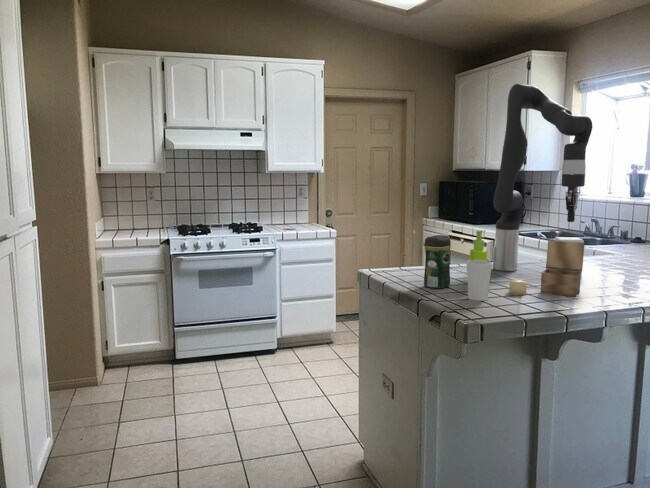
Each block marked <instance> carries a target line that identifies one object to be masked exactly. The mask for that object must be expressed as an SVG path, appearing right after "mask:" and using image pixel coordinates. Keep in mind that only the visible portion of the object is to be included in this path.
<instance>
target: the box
mask: <svg viewBox="0 0 650 488" xmlns="http://www.w3.org/2000/svg"><path fill="white" fill-rule="evenodd" d="M540 277H541V278H540V293H541V294H547V295H555V296H564V297H565V296H566V297H574V298H575V297H577V296H578V295H579V293H580V291H581V278H582V277H581V272H579V271H568V270H556V269H547V268H545V270H542V271H541V275H540Z"/></svg>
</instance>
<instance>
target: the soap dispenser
mask: <svg viewBox="0 0 650 488" xmlns="http://www.w3.org/2000/svg"><path fill="white" fill-rule="evenodd" d="M475 233H476V239H474V240H473V248H471V249H469V260H484V261H488V250H487V249H485V248H484V247H485V240H483V239H482V236H483V235H482V234H483V233H484V232H483V230H476V232H475Z"/></svg>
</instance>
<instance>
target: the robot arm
mask: <svg viewBox="0 0 650 488" xmlns="http://www.w3.org/2000/svg"><path fill="white" fill-rule="evenodd" d="M523 109H525V110H528V109H530V110H534V111H538V112H540V114H541V116H542V118H543V119H544V120H546V122H548V123H550V124H551V125H553V126H555V128H556V129H557V131H558V132H560V133H561V134H562V135H564V136H568V137H574V138H573V141H572V142H569V143H566V144H564V147H563V161H562V165H561V166H562V167H561V183H560V185H561V187H566V188H567V191H565V206H566V207H565V209H566V211H567V219H566V220H567V223H575V219H576V218H575V217H576V211H577V208H578V203H579V197H580V191H578V188H581V187H583V188H584V187H585V185H586V184H585V183H586V165H587V164H586V151H587V146H588V143H589V140H590V138H591V135H592V131H593V122H592V120H591V119H592V118H590V117H589V116H588V115H577V114H575V115H574V114H572V111H571V110H570V109H569V108H567V107H565V106H563V105H561V104H560V103H557V102H556V101H554V100H552V99H551V98H550V97H549V96H548V95H546V94H545V93H544V92H543V91H542V90H541V89H540V87H537V86H536V85H532V84H523V83H516V84H513V85H512V86H511V88H510V90H509V92H508V97H507V110H506V125H505V132H504V139H503V146H502V152H501V159H500V161H501V162H500V167H499V173H498V177H497V178H498V179H497V184H496V188H495V190H494V191H495V192H494V195H493V202H492V203H493V207H494V209H495V211H497V212H498V213H501V217H500V218H499V219H498V220H497V221H496V222H495V237H494V238H495V240H494V241H495V243H494V246H493V254H492V270H496V271H501V272H516V271H518V261H519V259H518V256H519V236H520V235H519V234H520V225H521V223H522V218H523V208H524V199H523V196H522V194H521V193H520V192H519V191H517V190H515V188H514V187H515V182H516V179H517V176H518V175H519V173H520V171H521V169H522V168H523V165H524V163H525V161H526V157H527V151H528V138H527V134H526V132H525V130H524V127H523V124H522V110H523Z"/></svg>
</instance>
